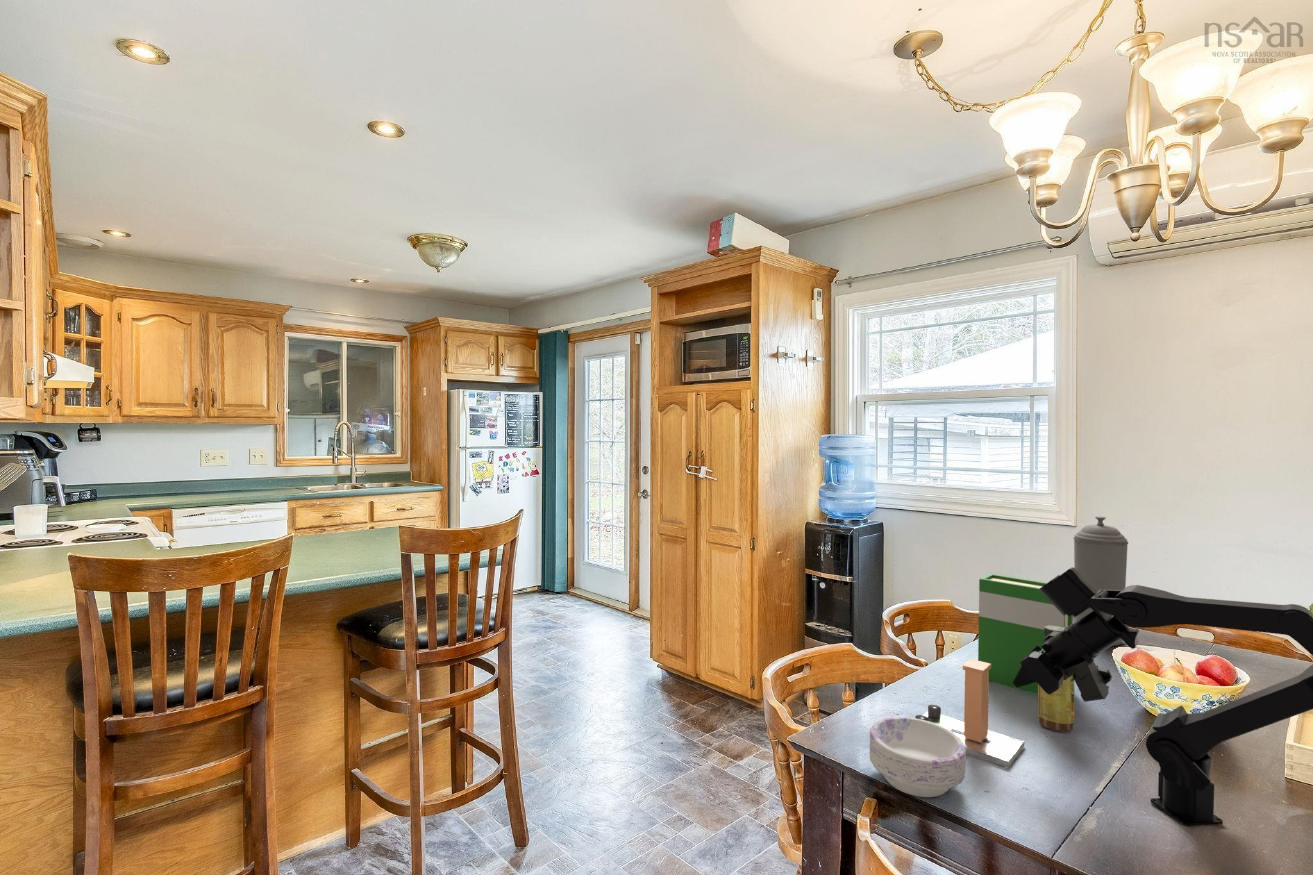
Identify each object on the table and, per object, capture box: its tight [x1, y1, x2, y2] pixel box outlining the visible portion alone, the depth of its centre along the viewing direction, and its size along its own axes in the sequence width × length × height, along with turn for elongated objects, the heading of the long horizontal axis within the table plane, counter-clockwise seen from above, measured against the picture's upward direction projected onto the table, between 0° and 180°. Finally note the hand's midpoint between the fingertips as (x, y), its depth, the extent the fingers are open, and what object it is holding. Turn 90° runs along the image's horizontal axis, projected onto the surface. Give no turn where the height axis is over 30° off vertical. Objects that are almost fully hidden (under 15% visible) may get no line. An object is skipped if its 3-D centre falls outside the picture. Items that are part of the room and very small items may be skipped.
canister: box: [1073, 515, 1129, 647], centre depth 180 cm, size 13×13×35 cm
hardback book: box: [977, 573, 1074, 695], centre depth 150 cm, size 18×7×24 cm, turn 44°
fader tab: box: [962, 658, 991, 743], centre depth 122 cm, size 4×5×14 cm
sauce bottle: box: [1037, 626, 1076, 733], centre depth 129 cm, size 6×6×20 cm
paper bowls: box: [869, 716, 967, 798], centre depth 109 cm, size 15×15×8 cm
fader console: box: [915, 704, 1025, 769], centre depth 124 cm, size 18×10×3 cm, turn 46°
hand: (1015, 684), depth 117 cm, fingers closed
